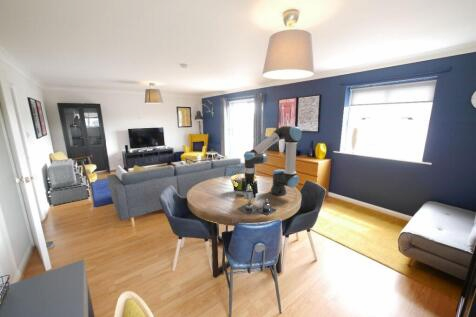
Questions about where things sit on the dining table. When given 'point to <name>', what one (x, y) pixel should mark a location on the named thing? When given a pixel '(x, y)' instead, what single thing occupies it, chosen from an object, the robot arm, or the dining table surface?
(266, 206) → the stand
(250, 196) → the ring
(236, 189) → the tea box
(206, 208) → the dining table surface
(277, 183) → the robot arm
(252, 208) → the hub
